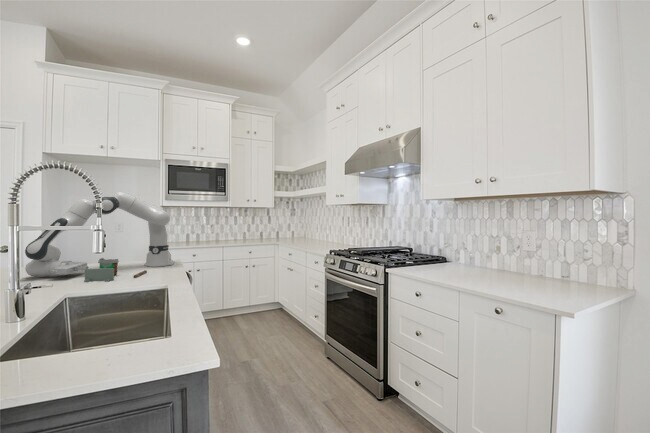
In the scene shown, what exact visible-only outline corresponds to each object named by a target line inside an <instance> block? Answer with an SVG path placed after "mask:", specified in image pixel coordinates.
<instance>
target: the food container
mask: <svg viewBox="0 0 650 433" xmlns="http://www.w3.org/2000/svg"><path fill="white" fill-rule="evenodd" d="M119 262H120V261H119V258H115V259H112V258H111V259H109V258H108V259H105V258H104V257H101V258H99V259H98V262H97V263H98V264H99V269H108V268H114V277H116V276H117V275H118V267H119V266H118V264H119Z"/></svg>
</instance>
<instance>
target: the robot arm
mask: <svg viewBox="0 0 650 433" xmlns="http://www.w3.org/2000/svg"><path fill="white" fill-rule="evenodd" d="M102 202H103V204H104V208H103V209H102V216H103V215H104V216H105V215H109V214H112V213H114V212H115V211H116V210H117V209H120V210H122V211H124V212H125V213H129V214H130V215H133V216H135V217H137V218H138V219H142V220H144V221H146V222H147V225H148V233H149V245H148V252H147V253H146V261H145V263H144V264H143V266H146V267H151V268H153V267H154V268H155V267H166V266H173V265H174V264H175V260H172V254H171V252H170V251H169V247H170V246H169V244H168V232H167V226H166V225H168V224H169V222H170V221H171V217H170V214H169V213H168V212H167V211H166V210H163V209H162V208H159V207H157V206H154V205H152V204H150V203H147V202H146V201H144V200H141V199H140V198H138V197H136V196H134V195H132V194H129V193H126V192H123V191H118V192H115V193H114V195H112V196H103V197H102ZM93 214H97V210H96V201H95V200H93V201H92V200H89V199H87V198H80V199H78V200H77V201H75V203H73V205H72V206H70V207H69V209H68V210H67V211H66V212H65V214H63V215H62V216H61V217H60V218H57V219H56V220H54V222H52V223H51V224H50V225H49V226H82V227H83V226H84V225H85V224H86V222H88V221H89V219H90V217H91V216H92V215H93ZM66 231H67V230H46V229H45V230H44V231H43V232H42V233H41V234H40V235H39V236H38V237H37V238H36V239H34V240H32V241H31V242H29V243H28V245H27V246H26V247H25V250H24V253H25V256H26V257H27V258H28V259H31V261H30V262H27V263H26V265H25V268H24V269H25V272H26V274H27V275H29V276H31V277H39V278H41V277H42V278H43V277H45V278H46V277H65V276H66V275H70V274H72V273H76V272H79V271H85V269H89V265H88V262H86V261H73V260H60V258H61V250H60V248H58V247H56V246H53V245H50V244H51V243H52V242H53V241H54V240H55V239H56V238H57V237H58V236H59V235H60V234H61V233H63V232H66Z"/></svg>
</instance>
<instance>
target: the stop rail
mask: <svg viewBox="0 0 650 433" xmlns="http://www.w3.org/2000/svg"><path fill="white" fill-rule="evenodd" d="M147 272H148V271H147V270H142V271H140V272H139V273H136V274H133V279H137V278H139V277H141V276H143V275H145V274H147Z"/></svg>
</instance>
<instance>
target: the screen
mask: <svg viewBox="0 0 650 433" xmlns="http://www.w3.org/2000/svg"><path fill="white" fill-rule="evenodd" d="M110 281H115V276H114V268H108V269H100V268H88V269H85V270H84V283H89V282H104V283H105V282H106V283H107V282H110Z"/></svg>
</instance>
